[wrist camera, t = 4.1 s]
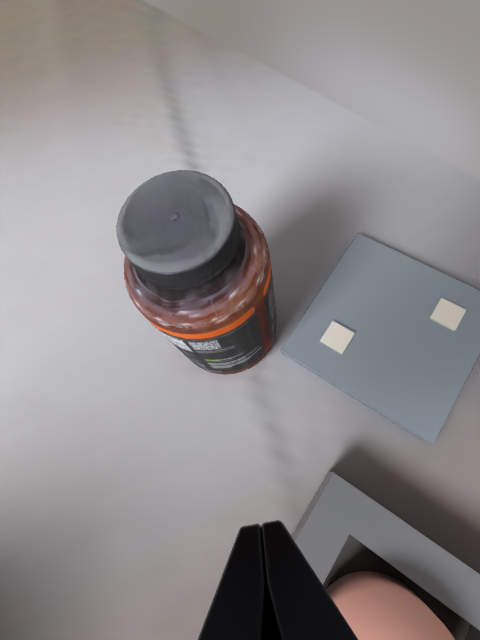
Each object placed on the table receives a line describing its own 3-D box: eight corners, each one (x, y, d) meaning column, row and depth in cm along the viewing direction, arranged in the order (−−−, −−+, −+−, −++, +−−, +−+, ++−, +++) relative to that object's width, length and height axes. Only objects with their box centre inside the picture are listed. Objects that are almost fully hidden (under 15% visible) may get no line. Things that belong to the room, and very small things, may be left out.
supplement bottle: (243, 268, 24) (209, 117, 13) (296, 341, 21) (307, 232, 11) (163, 317, 23) (61, 200, 12) (210, 397, 21) (133, 338, 10)
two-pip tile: (499, 307, 21) (507, 301, 20) (429, 444, 19) (435, 443, 18) (356, 238, 23) (358, 231, 23) (280, 352, 21) (280, 348, 21)
